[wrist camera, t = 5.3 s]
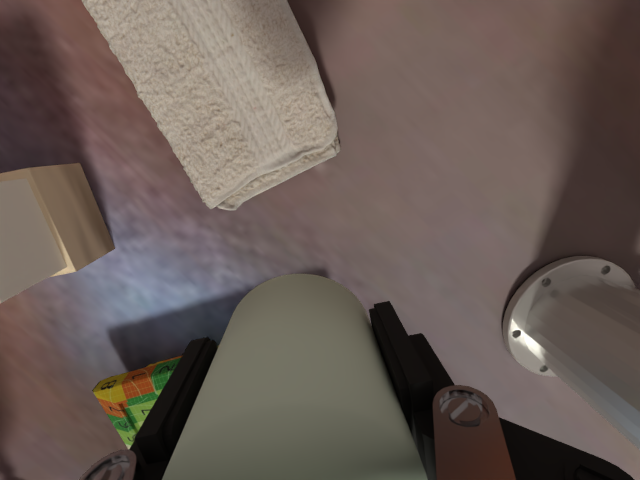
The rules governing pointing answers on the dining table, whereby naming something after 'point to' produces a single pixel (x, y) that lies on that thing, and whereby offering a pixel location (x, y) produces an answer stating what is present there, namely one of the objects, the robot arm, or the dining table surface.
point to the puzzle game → (133, 396)
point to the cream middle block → (24, 240)
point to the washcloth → (225, 89)
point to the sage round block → (297, 394)
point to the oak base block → (68, 212)
